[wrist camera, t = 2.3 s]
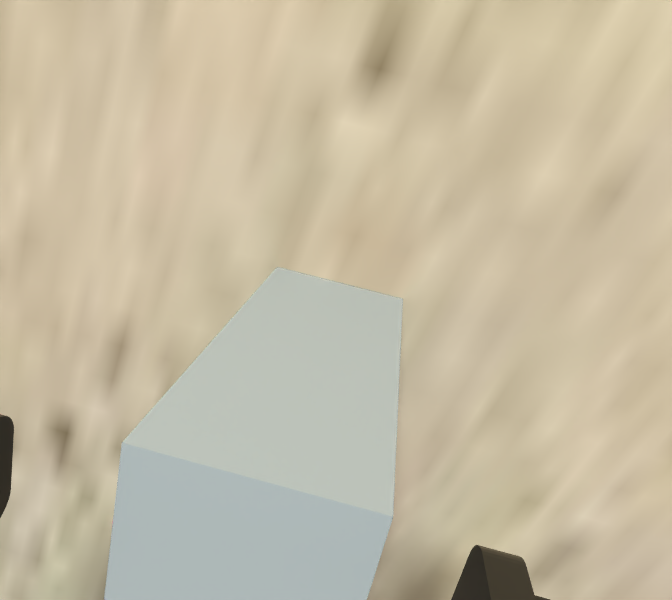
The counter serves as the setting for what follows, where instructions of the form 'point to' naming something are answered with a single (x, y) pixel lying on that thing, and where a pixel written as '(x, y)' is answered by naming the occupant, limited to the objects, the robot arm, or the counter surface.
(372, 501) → the mallet tool
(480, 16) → the counter surface
